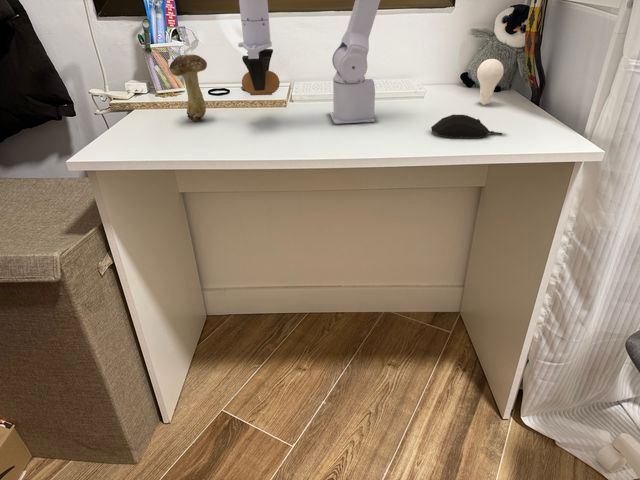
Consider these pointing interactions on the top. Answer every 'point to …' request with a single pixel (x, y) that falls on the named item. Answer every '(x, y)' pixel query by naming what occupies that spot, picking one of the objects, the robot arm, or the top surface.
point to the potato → (270, 84)
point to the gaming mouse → (461, 127)
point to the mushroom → (191, 82)
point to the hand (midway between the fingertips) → (261, 87)
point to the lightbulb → (489, 78)
